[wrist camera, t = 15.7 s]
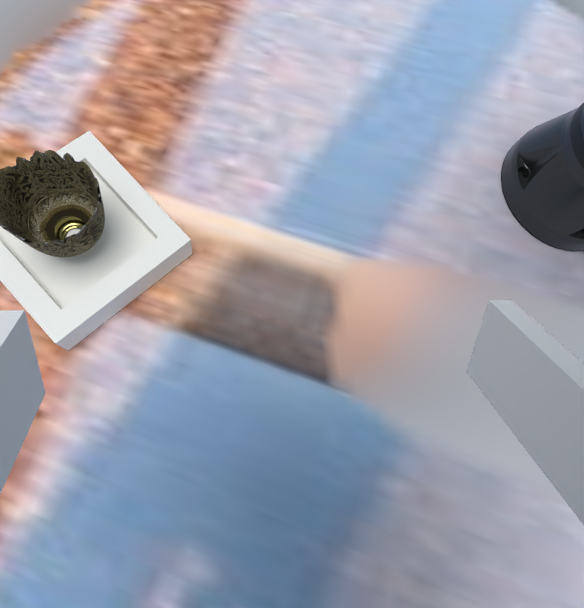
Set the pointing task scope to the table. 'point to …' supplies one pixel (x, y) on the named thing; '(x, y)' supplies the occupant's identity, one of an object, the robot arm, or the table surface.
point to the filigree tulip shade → (52, 204)
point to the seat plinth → (95, 255)
